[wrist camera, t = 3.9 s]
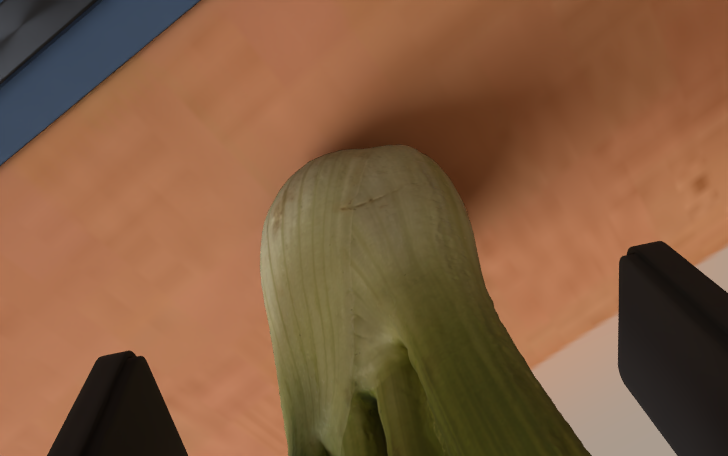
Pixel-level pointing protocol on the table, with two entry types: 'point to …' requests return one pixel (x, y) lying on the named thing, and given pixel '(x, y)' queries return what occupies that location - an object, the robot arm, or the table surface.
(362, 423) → the fennel bulb
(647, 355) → the robot arm
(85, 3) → the cutlery
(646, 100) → the table surface
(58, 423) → the table surface
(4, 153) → the napkin
